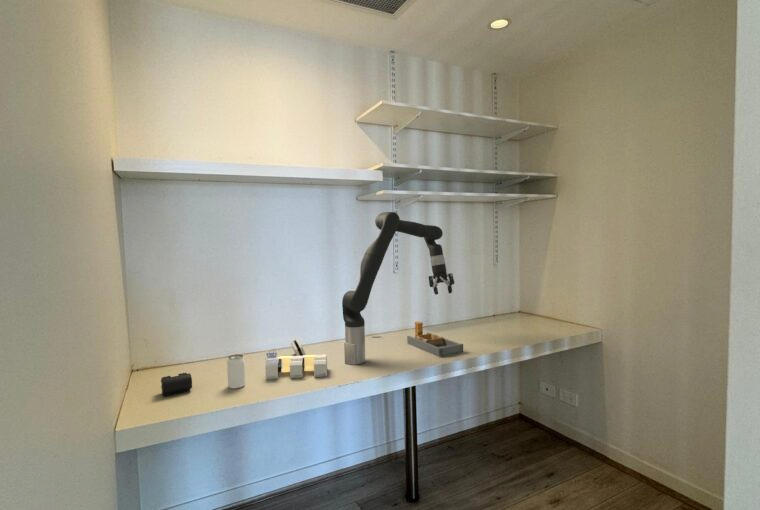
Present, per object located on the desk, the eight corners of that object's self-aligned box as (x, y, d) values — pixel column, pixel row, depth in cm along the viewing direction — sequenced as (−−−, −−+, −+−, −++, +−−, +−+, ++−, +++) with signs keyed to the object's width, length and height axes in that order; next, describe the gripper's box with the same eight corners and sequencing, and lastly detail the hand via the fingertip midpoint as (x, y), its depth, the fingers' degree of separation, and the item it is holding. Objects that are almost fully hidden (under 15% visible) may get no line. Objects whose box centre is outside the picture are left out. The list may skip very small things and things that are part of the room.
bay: (463, 352, 194) (463, 344, 194) (440, 357, 188) (440, 348, 187) (428, 339, 221) (428, 331, 220) (407, 343, 214) (407, 335, 214)
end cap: (163, 399, 145) (162, 381, 145) (160, 393, 151) (159, 376, 150) (192, 392, 151) (192, 375, 151) (188, 387, 157) (188, 370, 156)
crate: (443, 344, 205) (443, 326, 205) (427, 347, 200) (427, 328, 200) (425, 337, 220) (424, 320, 220) (409, 340, 215) (409, 322, 215)
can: (224, 387, 155) (223, 357, 155) (238, 382, 161) (237, 353, 160) (234, 390, 152) (233, 359, 151) (248, 385, 157) (247, 355, 157)
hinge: (311, 361, 186) (303, 342, 184) (301, 366, 184) (293, 347, 183) (304, 352, 201) (297, 334, 200) (296, 356, 200) (288, 338, 198)
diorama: (265, 380, 162) (264, 349, 162) (270, 372, 173) (269, 343, 172) (326, 377, 165) (325, 347, 164) (327, 369, 175) (326, 340, 174)
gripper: (423, 266, 212) (428, 296, 211) (445, 262, 203) (451, 293, 202) (431, 264, 218) (436, 293, 217) (453, 261, 208) (458, 291, 208)
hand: (443, 293), depth 210 cm, fingers open, 8 cm apart
